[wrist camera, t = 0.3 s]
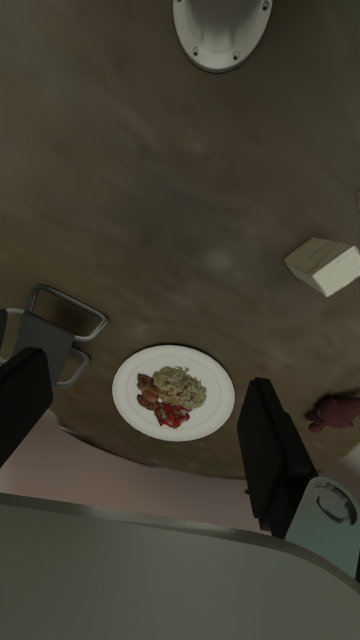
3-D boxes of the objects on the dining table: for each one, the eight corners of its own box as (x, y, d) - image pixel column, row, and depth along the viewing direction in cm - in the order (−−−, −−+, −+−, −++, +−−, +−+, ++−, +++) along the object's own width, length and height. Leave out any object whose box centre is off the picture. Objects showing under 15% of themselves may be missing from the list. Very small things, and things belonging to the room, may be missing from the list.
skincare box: (312, 235, 40) (356, 242, 29) (325, 255, 41) (372, 268, 30) (281, 260, 42) (311, 275, 31) (294, 277, 43) (327, 298, 32)
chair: (35, 278, 47) (-86, 322, 27) (111, 317, 49) (53, 384, 29) (22, 326, 52) (-88, 393, 32) (92, 359, 54) (30, 441, 34)
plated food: (207, 323, 49) (208, 330, 46) (249, 420, 59) (251, 431, 56) (92, 364, 55) (86, 373, 52) (147, 445, 66) (145, 456, 63)
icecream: (372, 393, 45) (300, 421, 51) (394, 422, 45) (320, 447, 51) (357, 376, 51) (295, 402, 57) (376, 401, 52) (312, 425, 58)
